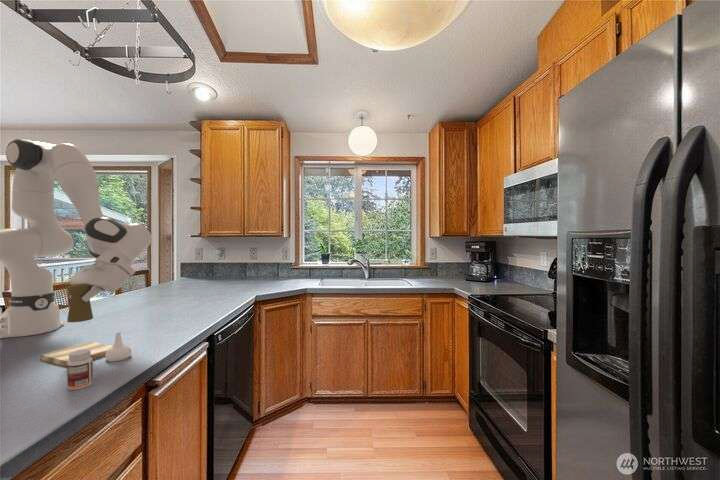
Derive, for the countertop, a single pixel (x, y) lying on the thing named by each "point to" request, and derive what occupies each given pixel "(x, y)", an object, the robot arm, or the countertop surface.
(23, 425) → the countertop surface
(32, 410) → the countertop surface
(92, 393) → the countertop surface
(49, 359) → the birch board
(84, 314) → the cork
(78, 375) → the pill bottle
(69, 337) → the countertop surface
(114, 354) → the garlic bulb
